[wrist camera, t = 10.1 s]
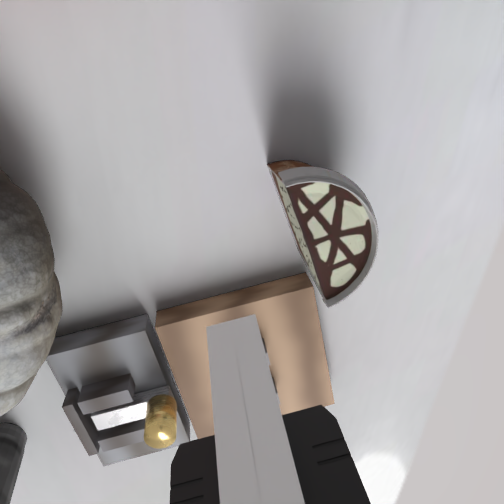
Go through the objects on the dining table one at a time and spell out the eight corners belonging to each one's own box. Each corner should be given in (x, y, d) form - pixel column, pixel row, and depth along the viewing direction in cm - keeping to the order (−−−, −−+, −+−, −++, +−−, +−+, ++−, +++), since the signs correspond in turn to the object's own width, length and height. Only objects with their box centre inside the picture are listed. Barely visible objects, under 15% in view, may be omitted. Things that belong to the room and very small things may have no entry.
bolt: (172, 380, 46) (171, 421, 41) (180, 401, 48) (180, 443, 43) (92, 401, 46) (80, 445, 41) (102, 422, 47) (92, 467, 42)
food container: (357, 238, 46) (399, 286, 37) (301, 260, 46) (329, 313, 37) (324, 123, 41) (364, 147, 32) (261, 149, 41) (283, 179, 32)
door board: (305, 272, 47) (319, 298, 42) (327, 385, 54) (341, 419, 49) (52, 338, 46) (37, 373, 41) (107, 444, 53) (100, 485, 48)
